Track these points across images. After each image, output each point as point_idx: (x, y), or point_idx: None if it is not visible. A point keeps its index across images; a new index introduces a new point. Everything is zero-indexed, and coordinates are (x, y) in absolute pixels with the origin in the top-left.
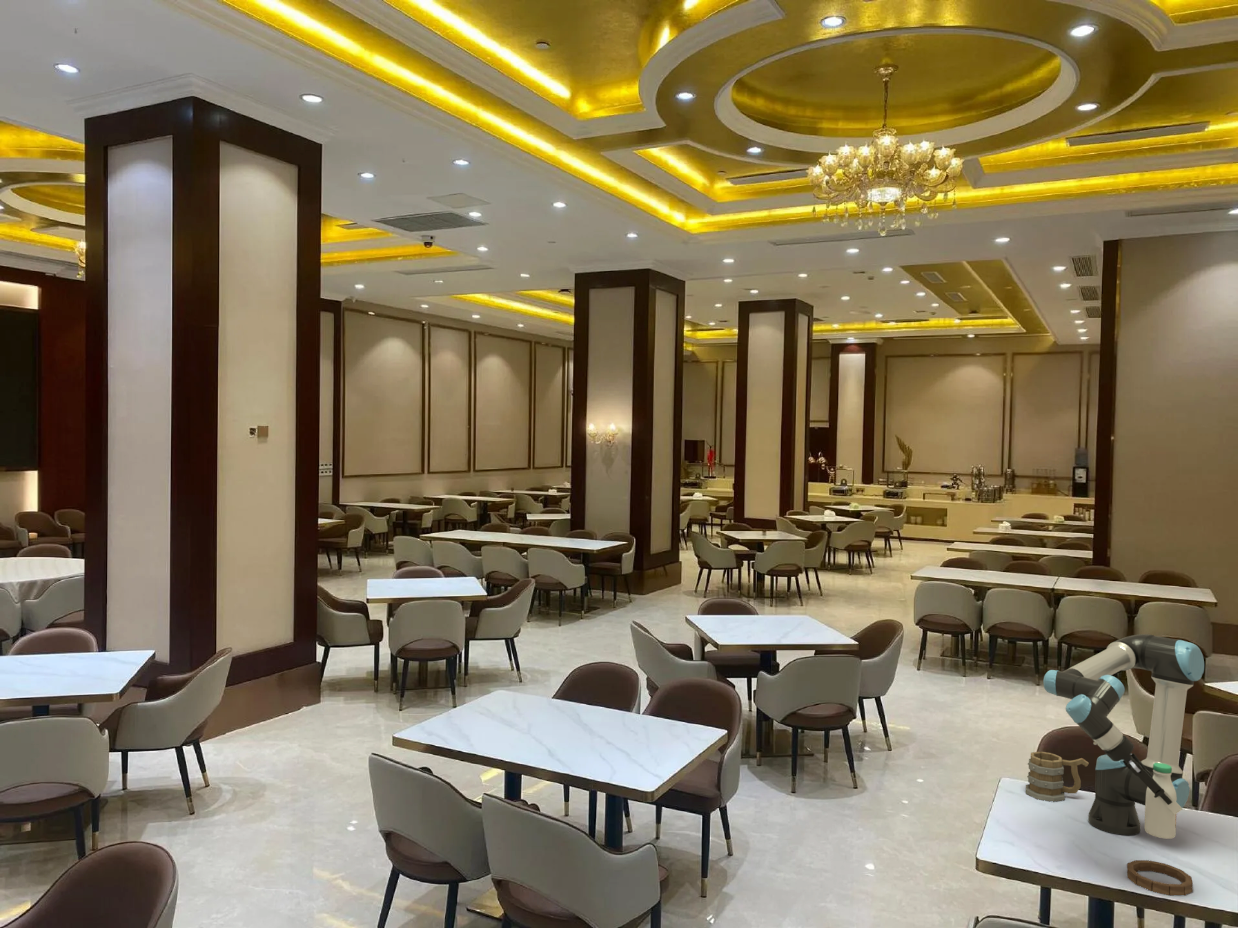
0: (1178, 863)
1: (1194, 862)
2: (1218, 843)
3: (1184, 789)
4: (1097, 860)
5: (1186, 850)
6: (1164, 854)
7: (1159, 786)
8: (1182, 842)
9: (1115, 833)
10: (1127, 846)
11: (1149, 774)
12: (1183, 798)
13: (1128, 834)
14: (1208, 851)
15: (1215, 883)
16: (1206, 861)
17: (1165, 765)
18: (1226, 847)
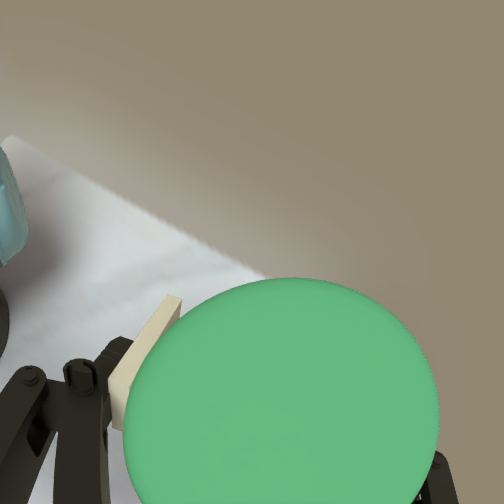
0: (123, 299)
1: (119, 261)
2: (60, 178)
3: (6, 167)
4: (130, 480)
5: (71, 246)
6: (84, 303)
7: (449, 487)
8: (44, 234)
9: (3, 349)
10: (50, 364)
11: (101, 458)
12: (14, 185)
13: (8, 324)
14: (80, 209)
15: (214, 274)
16: (116, 235)
17: (317, 384)
18: (73, 174)
